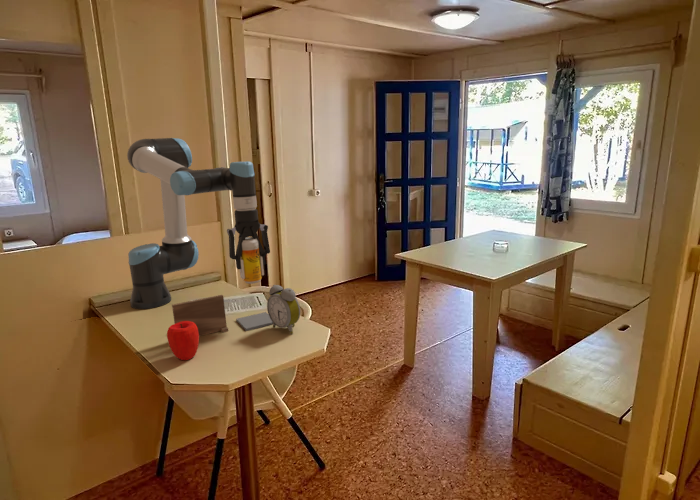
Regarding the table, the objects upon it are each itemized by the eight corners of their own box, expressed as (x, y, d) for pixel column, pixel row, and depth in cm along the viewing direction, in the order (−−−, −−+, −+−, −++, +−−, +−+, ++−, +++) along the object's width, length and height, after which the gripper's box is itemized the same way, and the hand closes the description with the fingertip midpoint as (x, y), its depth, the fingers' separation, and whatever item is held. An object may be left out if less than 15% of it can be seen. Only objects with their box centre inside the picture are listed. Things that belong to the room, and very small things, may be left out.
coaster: (236, 320, 161) (236, 318, 161) (265, 314, 166) (265, 311, 166) (246, 331, 152) (245, 328, 152) (277, 323, 157) (276, 321, 157)
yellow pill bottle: (257, 284, 152) (253, 240, 149) (240, 283, 153) (236, 240, 150) (264, 279, 158) (260, 236, 154) (248, 278, 159) (244, 236, 156)
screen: (175, 337, 149) (171, 303, 146) (224, 326, 157) (220, 293, 154) (178, 343, 145) (173, 307, 142) (228, 331, 152) (224, 297, 150)
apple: (177, 350, 139) (173, 317, 137) (205, 350, 139) (201, 317, 136) (165, 364, 130) (160, 329, 128) (195, 364, 130) (190, 328, 128)
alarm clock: (268, 328, 154) (264, 285, 150) (283, 321, 158) (280, 280, 155) (290, 336, 146) (286, 292, 142) (306, 329, 151) (303, 286, 147)
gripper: (219, 213, 142) (227, 284, 147) (277, 207, 151) (282, 273, 157) (213, 211, 149) (221, 278, 154) (269, 205, 158) (274, 269, 163)
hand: (252, 276), depth 155 cm, fingers closed on yellow pill bottle, 6 cm apart
